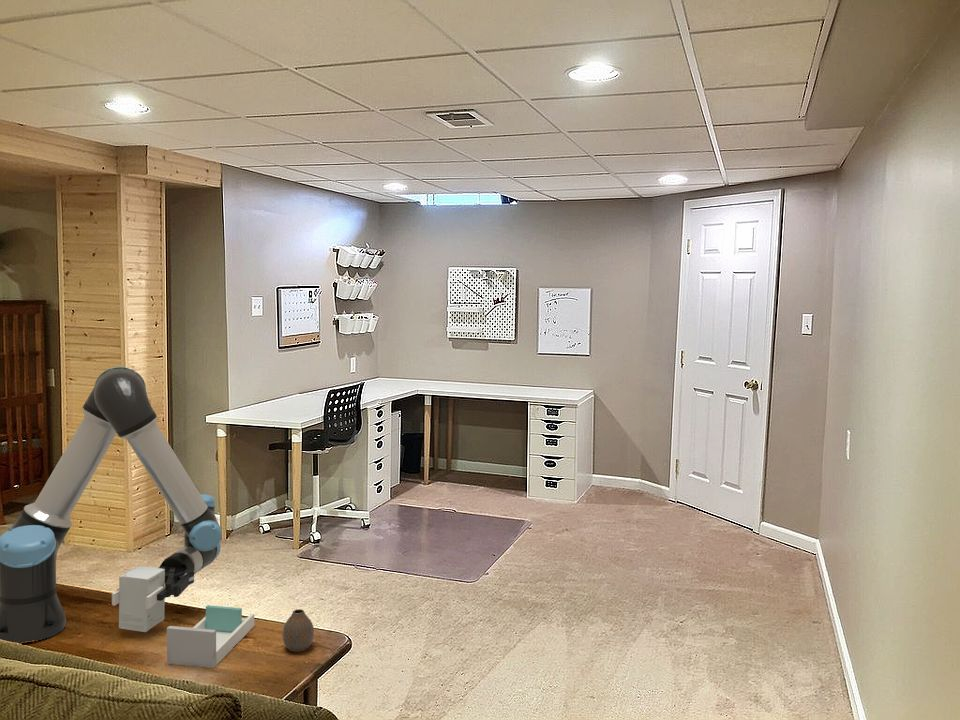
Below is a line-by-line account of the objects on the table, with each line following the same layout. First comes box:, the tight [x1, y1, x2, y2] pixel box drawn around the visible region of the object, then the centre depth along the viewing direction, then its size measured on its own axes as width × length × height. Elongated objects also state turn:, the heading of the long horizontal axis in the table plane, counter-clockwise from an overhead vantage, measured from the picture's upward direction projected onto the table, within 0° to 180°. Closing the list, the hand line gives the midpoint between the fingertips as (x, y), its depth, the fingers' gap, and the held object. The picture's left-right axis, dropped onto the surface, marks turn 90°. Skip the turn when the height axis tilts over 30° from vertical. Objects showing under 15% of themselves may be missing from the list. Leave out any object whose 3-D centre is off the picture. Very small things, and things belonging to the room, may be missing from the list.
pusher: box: [205, 604, 243, 632], centre depth 185 cm, size 1×8×6 cm, turn 83°
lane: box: [166, 613, 255, 669], centre depth 180 cm, size 21×11×8 cm, turn 173°
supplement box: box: [118, 565, 166, 633], centre depth 184 cm, size 7×7×13 cm
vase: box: [282, 608, 315, 653], centre depth 179 cm, size 7×7×9 cm
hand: (130, 601), depth 179 cm, fingers closed on supplement box, 7 cm apart
